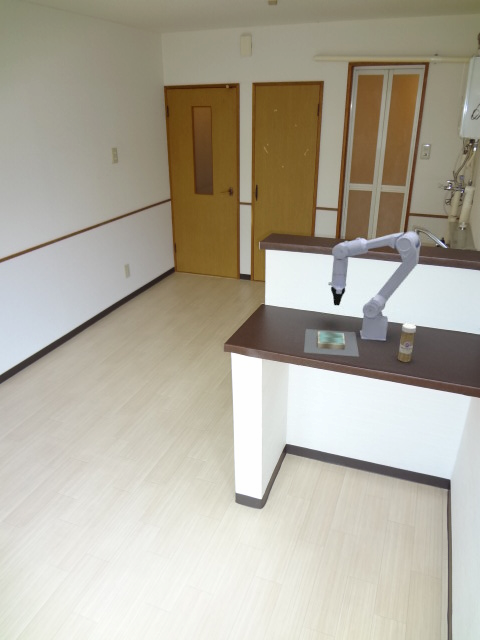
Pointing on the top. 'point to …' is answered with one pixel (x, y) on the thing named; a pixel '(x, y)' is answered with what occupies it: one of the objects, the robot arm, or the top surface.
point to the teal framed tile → (331, 340)
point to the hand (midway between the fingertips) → (336, 304)
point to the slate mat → (312, 347)
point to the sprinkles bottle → (406, 342)
